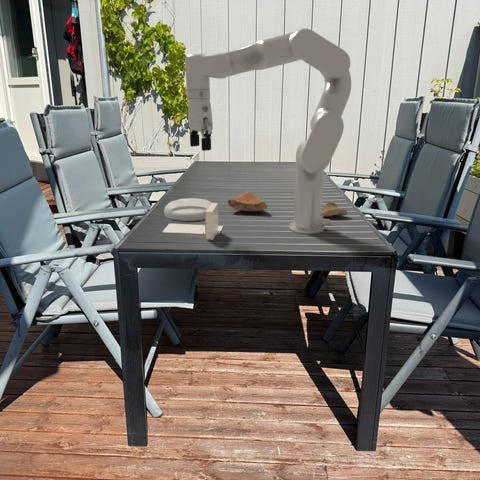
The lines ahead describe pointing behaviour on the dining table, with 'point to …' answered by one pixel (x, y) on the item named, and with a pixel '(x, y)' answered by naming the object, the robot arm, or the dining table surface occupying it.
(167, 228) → the mat
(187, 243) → the dining table surface
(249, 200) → the ceramic shard
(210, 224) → the glazed tile
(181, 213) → the round ceiling alarm
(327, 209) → the pottery shard
